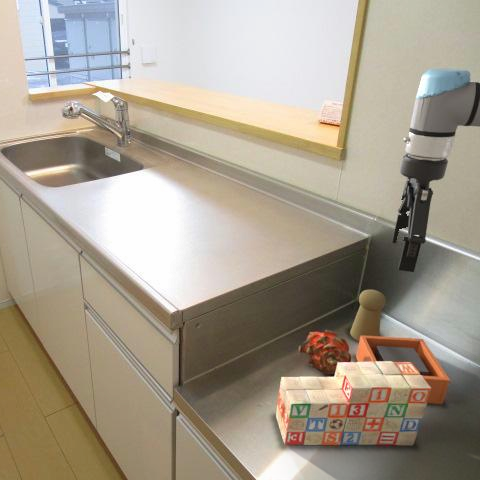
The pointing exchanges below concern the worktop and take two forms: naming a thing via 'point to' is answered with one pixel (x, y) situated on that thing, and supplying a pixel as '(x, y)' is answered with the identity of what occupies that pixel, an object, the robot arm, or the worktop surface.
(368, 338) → the crate
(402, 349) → the grey block
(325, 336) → the dragon fruit
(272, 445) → the worktop surface
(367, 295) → the cork
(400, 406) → the stack of blocks
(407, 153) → the robot arm
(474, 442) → the worktop surface
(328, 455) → the worktop surface
